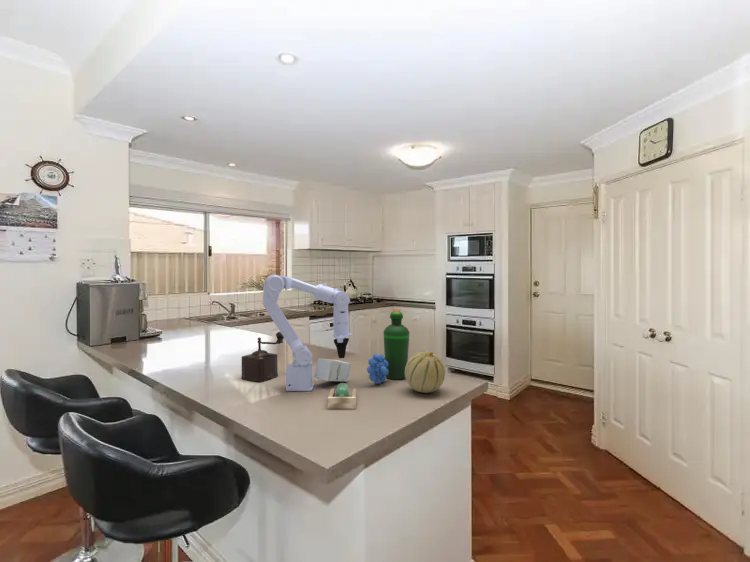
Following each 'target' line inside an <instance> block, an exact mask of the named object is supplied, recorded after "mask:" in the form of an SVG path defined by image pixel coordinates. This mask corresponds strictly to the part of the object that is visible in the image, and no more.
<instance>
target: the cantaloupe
mask: <svg viewBox="0 0 750 562" xmlns="http://www.w3.org/2000/svg"><path fill="white" fill-rule="evenodd" d="M445 378H446V368H445V364H444V362H443V361H442V359H441V357H439V356H438V355H437V354H435V353H434V351H427V350H425V351H424V350H423V351H418V352H415V353H413V354H412V355H411V356H410V357H409V358H408V362H407V364H406V367H405V378H404V379H405V380H406V382H407V384H408V386H409V387H411V388H412V389H413V390H414V391H416V392H418V393H422V394H428V393H430V394H431V393H433V392H435V391H437V390H438V389H440V387H442V385H443V383H444V381H445Z"/></svg>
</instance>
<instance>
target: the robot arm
mask: <svg viewBox="0 0 750 562" xmlns="http://www.w3.org/2000/svg"><path fill="white" fill-rule="evenodd" d="M262 287H263V290H262V305H263V307H264V309H265V311H266V313H268V315H269V316H270V318H271V319H272V321H273V323H274V324H275V326H276V328H277V329H278V332H281V334H282V335H283V337H284V340H285V341H286V343H287V344H288V346H289V348H290V349H291V351H292V357H293V358H294V359H293V361H292V364H291V363H290V364H287V366H286V371H285V384H286V385H285V391H286V392H288V391H289V392H292V391H293V392H295V391H296V392H299V391H300V392H302V391H304V392H305V391H307V392H309V391H310V392H311V391H313V389H314V386H315V383H314V382H313V362H312V361H313V353H312V351H311V350H310V348H309V346H307V345H306V344H304V343H303V342H302V341H301V339H300V337H299V336H298V334H297V333H296V331H295V330H294V328H293V326H292V324H291V323H290V321H289V320H288V319H287V317H286V315H285V314H284V312H283V310H282V309H281V307H280V306H279V304H278V299H279V297H280V294H281V292H282V291H283V290H284V289H285V290H288V289H295V290H299V291H302V292H306V293H310V294H311V295H313V297H314V299H316V300H319V301H322V302H326V303H328V304H333V313H332V314H333V333H332V334H333V335H332V336H333V337H334V338H335V339H333V343H334V346H335V347H336V351H337V356H338V358H339V359H345V356H346V352H347V351H346V350H347V345H348V344H349V341H350V338H349V337H351V336H353V334H352V333H351V332H350V329H349V328H350V326H349V325H350V324H349V322H350V320H349V319H350V318H349V316H350V315H349V305H350V302H351V298H350V296H349V294H348V293H347V292H345V291H342V290H339V288H337V287H336V288H333V287H332V286H331V287H330V286H328V285H327V283H324V282H323V283H319V284H317V285H313V284H310V283H307V282H305V281H302V280H300V279H297V278H294V277H289V276H284V275H279V274H275V273H274V274H270V275H267V277H266V278H265V281H264V283H263V286H262Z"/></svg>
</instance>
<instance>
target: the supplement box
mask: <svg viewBox="0 0 750 562" xmlns="http://www.w3.org/2000/svg"><path fill="white" fill-rule="evenodd" d="M351 368H352V363H350V362H347V361H342V360H339V359H332V358H331V359H330V358H329V359H328V358H320V357H318V358H317V361H316V365H315V371H314V375H313V377H314V378H316V379H320V380H323V381H327V382H343V383H345V382H347V383H348V382H349V378H350V372H351Z"/></svg>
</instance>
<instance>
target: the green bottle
mask: <svg viewBox="0 0 750 562" xmlns="http://www.w3.org/2000/svg"><path fill="white" fill-rule="evenodd" d="M335 388H336V389H335V397H349V385H348V384H347V383H345V382H340V383H338V384H337V385H336V387H335Z"/></svg>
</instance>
